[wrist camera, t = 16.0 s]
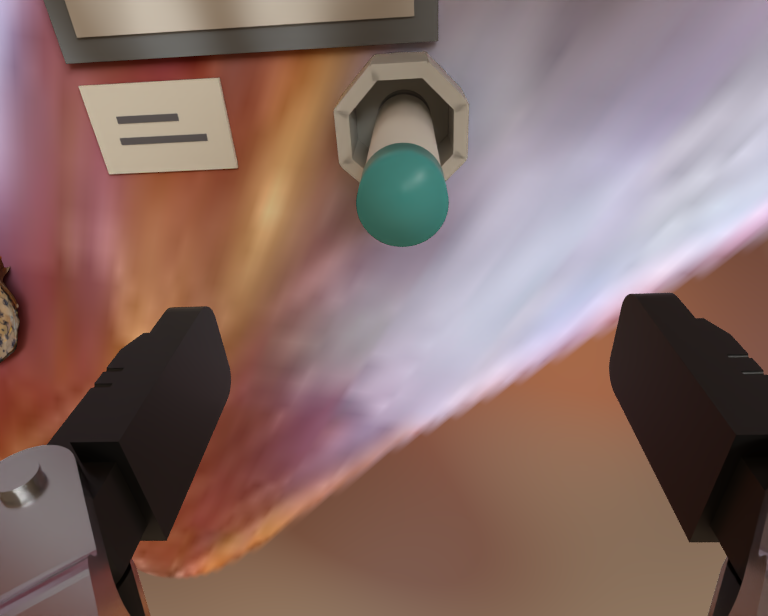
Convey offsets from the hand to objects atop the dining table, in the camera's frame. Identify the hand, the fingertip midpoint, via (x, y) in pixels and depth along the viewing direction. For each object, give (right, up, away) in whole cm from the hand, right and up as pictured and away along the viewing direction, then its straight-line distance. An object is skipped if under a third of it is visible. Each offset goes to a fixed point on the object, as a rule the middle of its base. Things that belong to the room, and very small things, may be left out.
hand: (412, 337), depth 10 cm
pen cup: (0, +12, +19) cm, 22 cm away
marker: (+1, +11, +18) cm, 22 cm away
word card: (-14, +11, +20) cm, 26 cm away
